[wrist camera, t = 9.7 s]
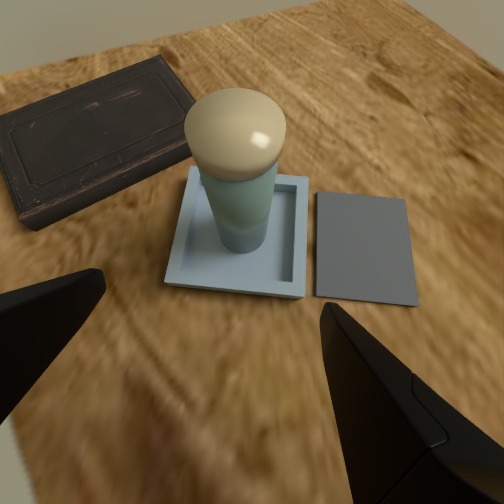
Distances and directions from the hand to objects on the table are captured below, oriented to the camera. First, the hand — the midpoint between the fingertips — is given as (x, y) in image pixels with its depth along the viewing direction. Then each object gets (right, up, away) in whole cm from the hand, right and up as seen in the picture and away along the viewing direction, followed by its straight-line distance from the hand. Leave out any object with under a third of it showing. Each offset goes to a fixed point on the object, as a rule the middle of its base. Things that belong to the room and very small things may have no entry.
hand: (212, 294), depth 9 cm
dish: (+1, +4, +16) cm, 16 cm away
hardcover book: (-16, +16, +20) cm, 30 cm away
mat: (+14, +2, +15) cm, 21 cm away
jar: (+1, +4, +15) cm, 16 cm away
